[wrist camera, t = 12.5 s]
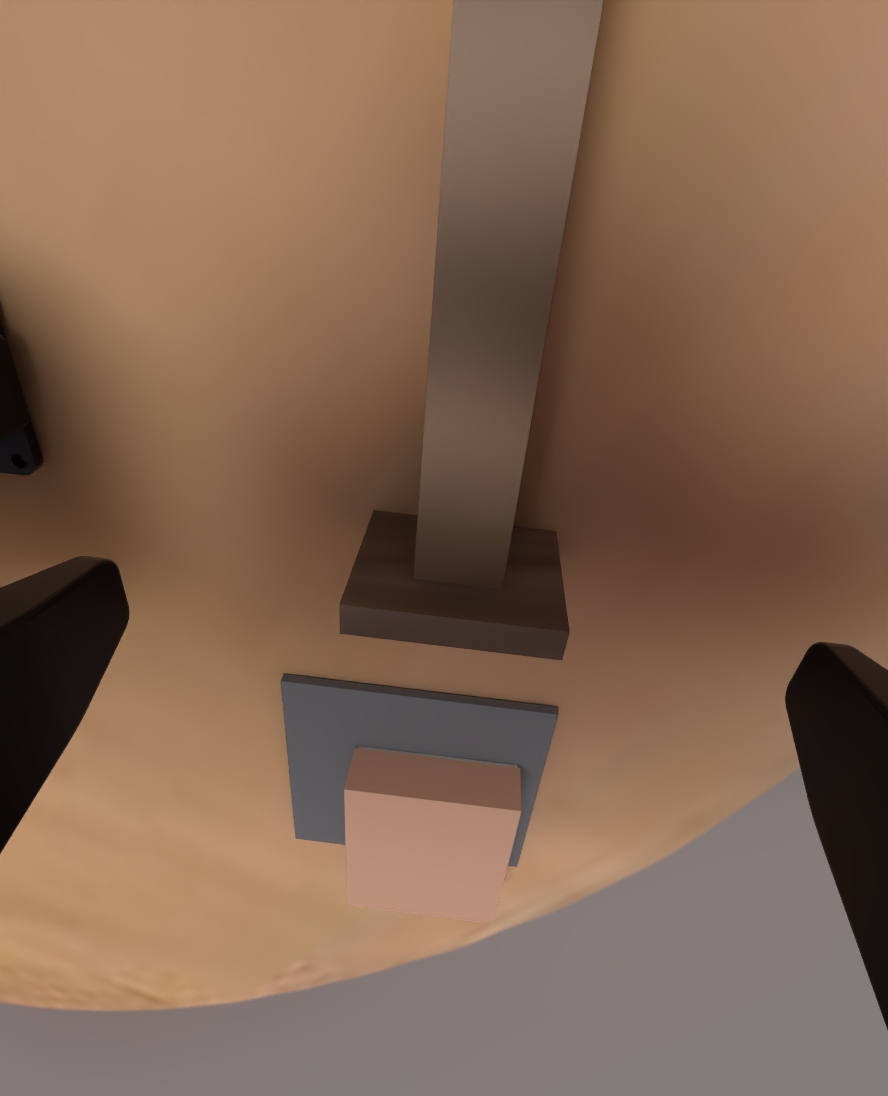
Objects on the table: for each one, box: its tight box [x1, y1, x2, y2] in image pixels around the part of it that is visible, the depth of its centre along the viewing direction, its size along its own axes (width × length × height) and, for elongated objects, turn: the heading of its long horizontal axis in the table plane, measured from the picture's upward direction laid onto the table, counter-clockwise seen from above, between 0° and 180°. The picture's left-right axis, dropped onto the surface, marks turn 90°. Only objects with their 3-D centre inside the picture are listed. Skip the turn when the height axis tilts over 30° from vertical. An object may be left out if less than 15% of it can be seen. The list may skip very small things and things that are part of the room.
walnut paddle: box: [340, 0, 603, 660], centre depth 14 cm, size 16×6×5 cm, turn 175°
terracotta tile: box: [344, 746, 521, 924], centre depth 27 cm, size 7×2×9 cm
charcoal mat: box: [281, 674, 558, 867], centre depth 27 cm, size 11×11×1 cm
